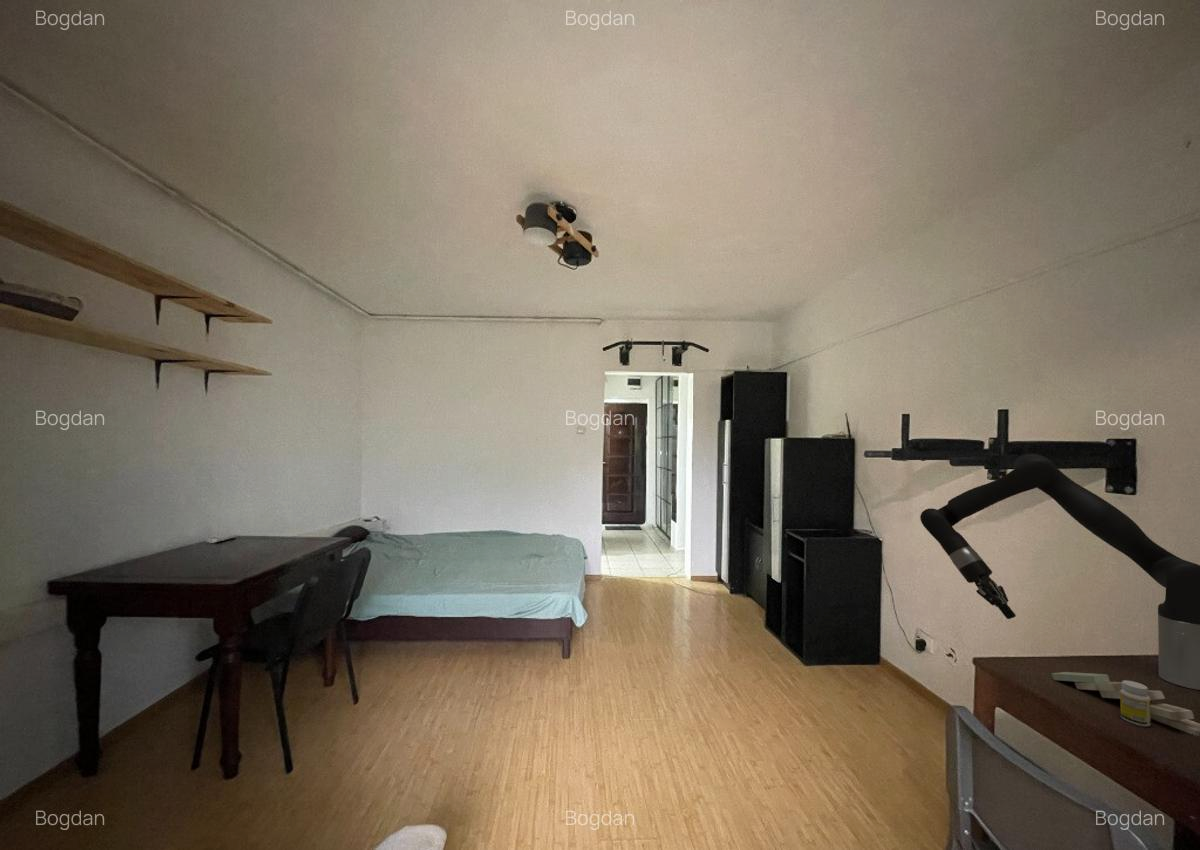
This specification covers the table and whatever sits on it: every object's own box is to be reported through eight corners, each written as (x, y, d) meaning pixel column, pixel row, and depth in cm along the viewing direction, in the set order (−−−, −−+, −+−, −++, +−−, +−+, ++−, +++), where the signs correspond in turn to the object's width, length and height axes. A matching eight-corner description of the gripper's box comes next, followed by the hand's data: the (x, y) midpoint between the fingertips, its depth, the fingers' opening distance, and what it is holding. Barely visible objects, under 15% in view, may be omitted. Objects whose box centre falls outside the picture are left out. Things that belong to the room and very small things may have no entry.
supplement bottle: (1131, 715, 115) (1131, 679, 115) (1156, 726, 110) (1156, 689, 111) (1114, 715, 114) (1114, 679, 115) (1139, 727, 110) (1139, 690, 110)
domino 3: (1114, 688, 123) (1161, 690, 114) (1118, 696, 123) (1165, 698, 114) (1099, 690, 122) (1144, 692, 114) (1102, 697, 122) (1148, 700, 113)
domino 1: (1064, 671, 133) (1107, 674, 125) (1067, 678, 133) (1110, 681, 124) (1051, 673, 132) (1093, 676, 123) (1053, 679, 132) (1096, 683, 123)
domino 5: (1148, 704, 118) (1210, 727, 108) (1148, 711, 118) (1211, 735, 108) (1136, 707, 116) (1198, 731, 107) (1136, 714, 116) (1199, 739, 107)
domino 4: (1139, 697, 118) (1192, 710, 109) (1141, 704, 118) (1194, 718, 108) (1121, 698, 118) (1172, 712, 108) (1123, 705, 118) (1175, 720, 108)
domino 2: (1090, 680, 128) (1132, 682, 119) (1093, 687, 128) (1135, 690, 119) (1074, 682, 128) (1115, 684, 119) (1077, 689, 127) (1118, 691, 118)
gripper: (970, 558, 149) (1014, 614, 138) (990, 558, 156) (1033, 611, 145) (949, 570, 154) (990, 624, 143) (969, 569, 160) (1009, 621, 149)
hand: (1012, 617), depth 144 cm, fingers closed
